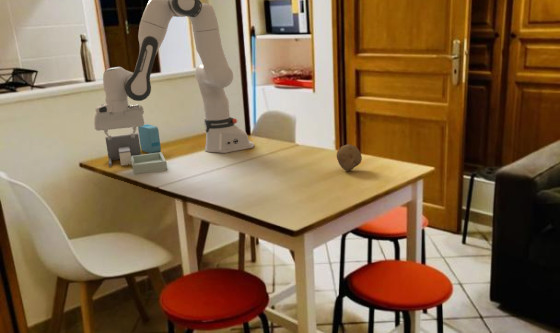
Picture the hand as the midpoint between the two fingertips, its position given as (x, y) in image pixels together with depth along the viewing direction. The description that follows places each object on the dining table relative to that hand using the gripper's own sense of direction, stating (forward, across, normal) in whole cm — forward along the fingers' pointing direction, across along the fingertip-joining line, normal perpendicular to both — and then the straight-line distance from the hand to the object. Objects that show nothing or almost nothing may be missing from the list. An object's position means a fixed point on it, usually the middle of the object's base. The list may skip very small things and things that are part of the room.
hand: (121, 138), depth 222 cm
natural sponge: (+9, -78, +61) cm, 99 cm away
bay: (+10, -1, -2) cm, 11 cm away
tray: (+10, -9, +13) cm, 19 cm away
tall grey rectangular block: (+11, -1, 0) cm, 11 cm away
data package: (+10, -13, -15) cm, 22 cm away
